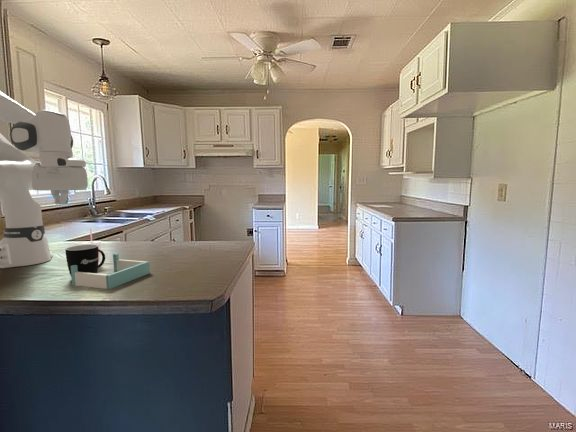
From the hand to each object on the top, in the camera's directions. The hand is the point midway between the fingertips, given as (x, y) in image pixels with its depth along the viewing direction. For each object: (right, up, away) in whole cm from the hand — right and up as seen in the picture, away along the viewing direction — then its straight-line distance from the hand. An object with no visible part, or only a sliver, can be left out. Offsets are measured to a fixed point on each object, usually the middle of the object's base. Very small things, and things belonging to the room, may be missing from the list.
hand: (60, 204), depth 108 cm
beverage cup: (+3, -23, +13) cm, 26 cm away
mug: (+9, -24, 0) cm, 26 cm away
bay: (+19, -24, -3) cm, 31 cm away
